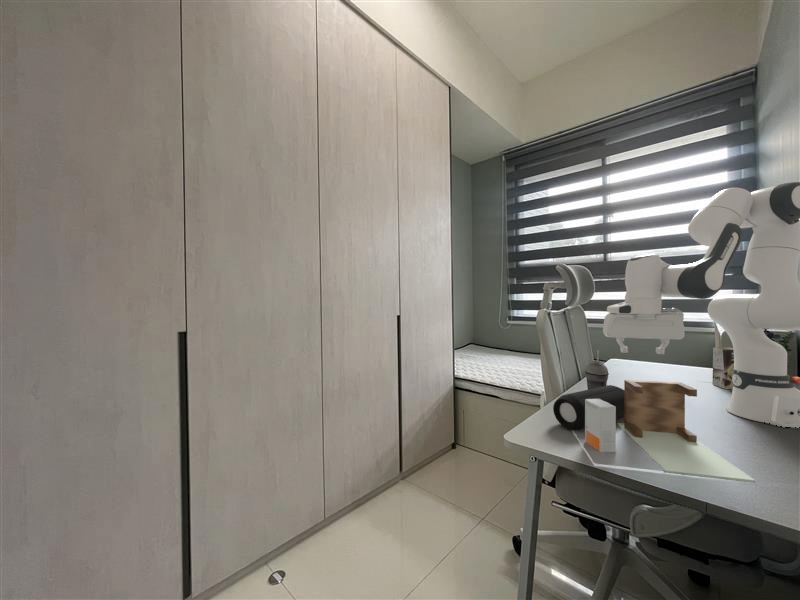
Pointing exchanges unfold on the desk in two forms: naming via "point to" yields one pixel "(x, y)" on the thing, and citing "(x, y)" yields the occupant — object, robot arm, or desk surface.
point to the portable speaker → (573, 405)
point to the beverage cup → (596, 374)
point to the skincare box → (600, 425)
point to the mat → (686, 456)
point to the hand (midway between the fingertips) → (641, 353)
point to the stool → (656, 407)
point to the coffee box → (723, 367)
